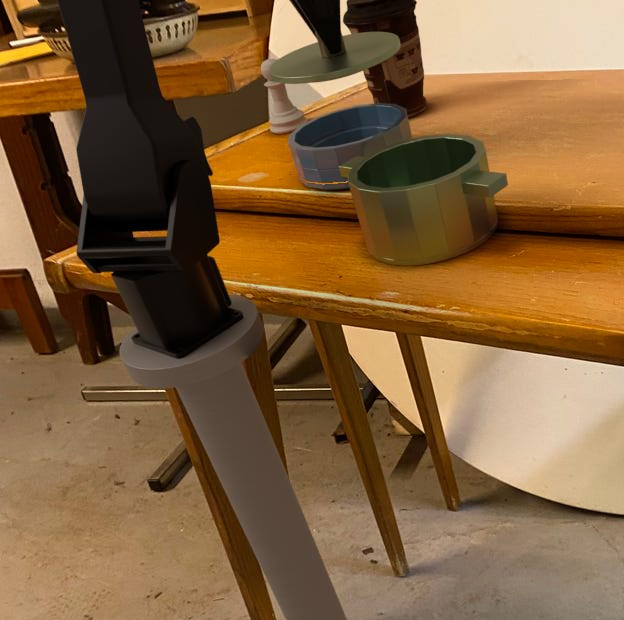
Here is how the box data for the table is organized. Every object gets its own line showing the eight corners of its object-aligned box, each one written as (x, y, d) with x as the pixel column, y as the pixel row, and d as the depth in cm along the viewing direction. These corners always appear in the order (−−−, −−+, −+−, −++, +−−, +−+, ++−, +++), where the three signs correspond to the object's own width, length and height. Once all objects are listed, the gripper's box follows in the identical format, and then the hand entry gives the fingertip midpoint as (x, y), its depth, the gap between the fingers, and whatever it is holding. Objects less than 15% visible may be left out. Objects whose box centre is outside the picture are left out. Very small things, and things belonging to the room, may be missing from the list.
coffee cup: (451, 97, 109) (427, -23, 101) (419, 124, 103) (392, -1, 95) (389, 100, 112) (361, -16, 104) (355, 126, 107) (323, 6, 99)
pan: (360, 199, 89) (347, 154, 86) (278, 186, 96) (264, 144, 93) (440, 149, 96) (431, 106, 93) (358, 141, 103) (347, 100, 100)
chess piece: (309, 127, 110) (288, 58, 105) (271, 137, 110) (248, 68, 105) (307, 116, 114) (287, 49, 109) (270, 126, 113) (248, 59, 108)
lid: (336, 93, 81) (319, 31, 78) (246, 87, 88) (227, 30, 85) (428, 45, 88) (416, -14, 84) (338, 43, 95) (323, -12, 92)
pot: (465, 280, 72) (449, 202, 68) (320, 250, 81) (298, 180, 77) (549, 216, 78) (538, 141, 74) (405, 195, 88) (388, 128, 84)
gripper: (400, -166, 72) (442, 44, 81) (342, -167, 86) (383, 12, 96) (265, -130, 70) (324, 80, 79) (228, -137, 84) (282, 42, 94)
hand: (332, 50), depth 87 cm, fingers closed on lid, 2 cm apart
